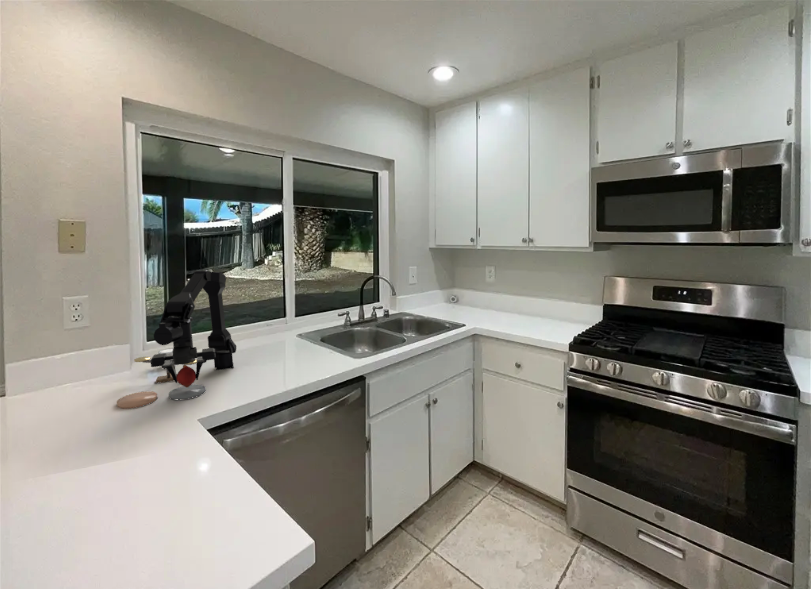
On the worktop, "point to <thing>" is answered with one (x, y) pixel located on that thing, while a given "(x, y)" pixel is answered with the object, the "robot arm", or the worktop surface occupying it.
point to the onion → (186, 376)
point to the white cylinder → (168, 352)
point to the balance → (168, 376)
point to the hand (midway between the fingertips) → (186, 381)
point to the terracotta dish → (136, 399)
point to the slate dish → (187, 391)
